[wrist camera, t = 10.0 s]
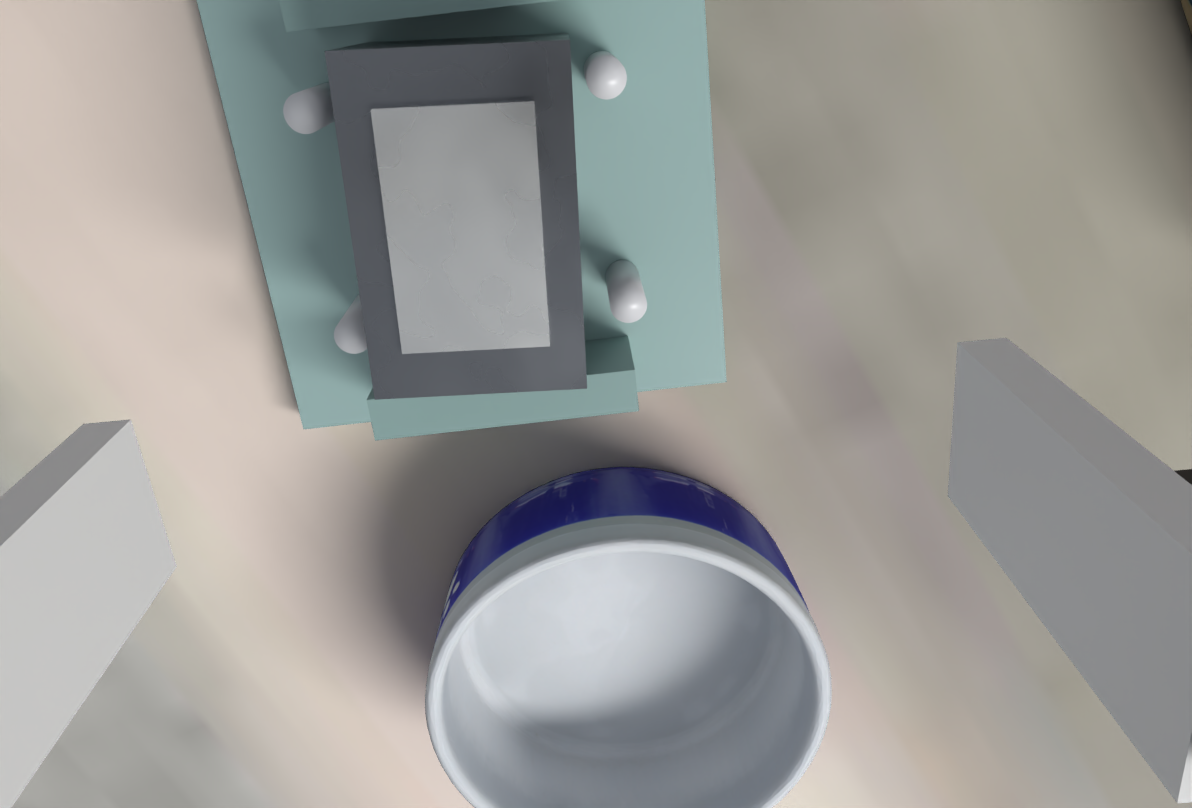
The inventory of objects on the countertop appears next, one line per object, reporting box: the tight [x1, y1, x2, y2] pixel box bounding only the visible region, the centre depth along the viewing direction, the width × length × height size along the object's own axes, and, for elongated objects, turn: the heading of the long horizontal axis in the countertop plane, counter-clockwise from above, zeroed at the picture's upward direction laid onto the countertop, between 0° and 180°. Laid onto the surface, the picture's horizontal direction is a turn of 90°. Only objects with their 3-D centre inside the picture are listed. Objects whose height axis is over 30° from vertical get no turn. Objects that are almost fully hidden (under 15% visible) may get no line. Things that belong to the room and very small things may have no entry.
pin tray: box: [197, 0, 726, 440], centre depth 32 cm, size 16×16×4 cm
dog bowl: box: [425, 467, 832, 808], centre depth 39 cm, size 15×15×6 cm
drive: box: [325, 33, 587, 400], centre depth 30 cm, size 10×6×6 cm, turn 2°
